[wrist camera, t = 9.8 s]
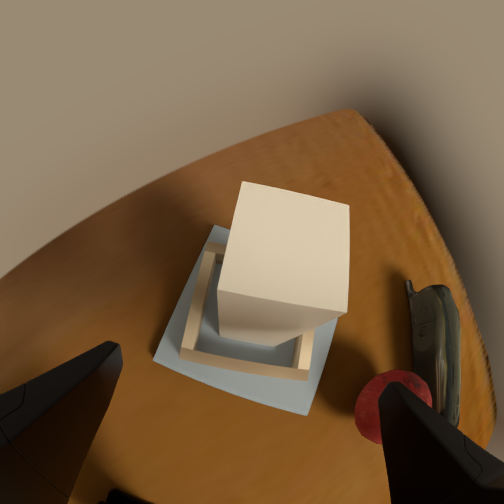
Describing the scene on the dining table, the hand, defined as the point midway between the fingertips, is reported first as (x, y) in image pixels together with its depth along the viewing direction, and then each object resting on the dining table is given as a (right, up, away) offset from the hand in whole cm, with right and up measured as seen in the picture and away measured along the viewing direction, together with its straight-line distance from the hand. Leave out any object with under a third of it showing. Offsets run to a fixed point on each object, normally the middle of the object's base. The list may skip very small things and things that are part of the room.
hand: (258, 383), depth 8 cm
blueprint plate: (0, -1, +13) cm, 13 cm away
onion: (+10, -9, +11) cm, 17 cm away
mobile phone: (+16, -6, +13) cm, 21 cm away
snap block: (0, -1, +12) cm, 12 cm away
